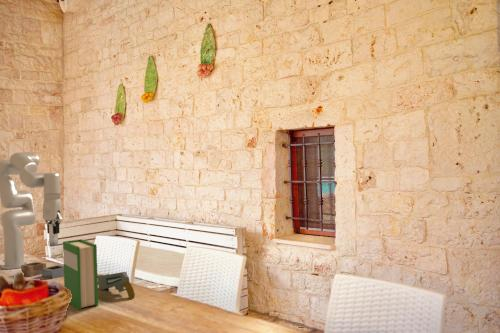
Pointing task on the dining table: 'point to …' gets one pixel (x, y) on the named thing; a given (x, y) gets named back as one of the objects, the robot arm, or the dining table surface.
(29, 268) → the bore block
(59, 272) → the seat block
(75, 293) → the hardback book
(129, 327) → the dining table surface
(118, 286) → the gun
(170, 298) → the dining table surface
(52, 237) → the axle
